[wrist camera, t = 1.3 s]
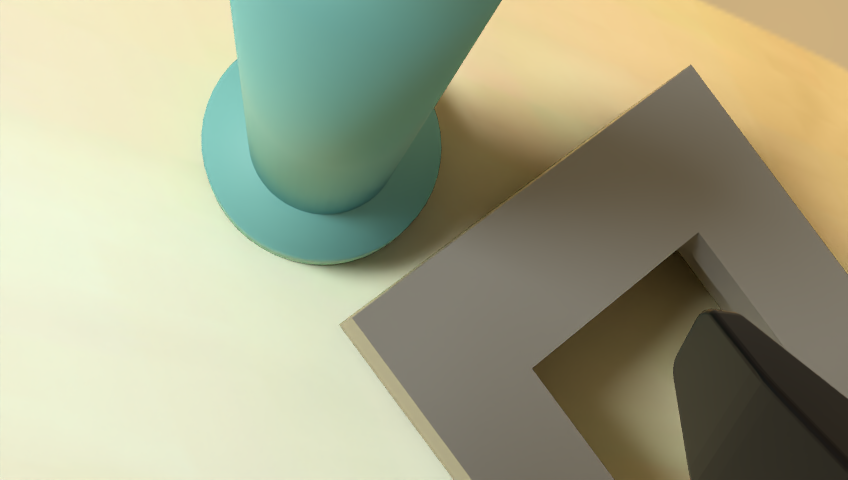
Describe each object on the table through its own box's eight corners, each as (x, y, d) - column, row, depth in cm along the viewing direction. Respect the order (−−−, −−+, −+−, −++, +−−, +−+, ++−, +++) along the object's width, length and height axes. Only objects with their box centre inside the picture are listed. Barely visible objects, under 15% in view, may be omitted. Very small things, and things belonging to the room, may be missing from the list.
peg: (446, 252, 23) (659, 119, 10) (216, 276, 21) (131, 160, 9) (418, 39, 24) (583, -332, 11) (195, 50, 22) (89, -354, 10)
